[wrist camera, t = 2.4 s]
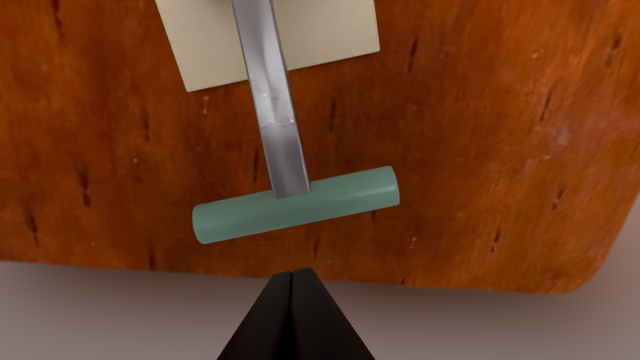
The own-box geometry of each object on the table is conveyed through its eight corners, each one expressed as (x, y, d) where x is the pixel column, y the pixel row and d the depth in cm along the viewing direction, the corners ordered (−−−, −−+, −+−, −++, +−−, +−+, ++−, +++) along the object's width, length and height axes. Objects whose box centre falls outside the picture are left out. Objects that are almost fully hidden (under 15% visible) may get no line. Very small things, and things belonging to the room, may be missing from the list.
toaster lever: (392, 199, 13) (407, 210, 11) (214, 235, 14) (190, 254, 11) (324, -149, 13) (324, -219, 10) (136, -106, 13) (92, -165, 10)
